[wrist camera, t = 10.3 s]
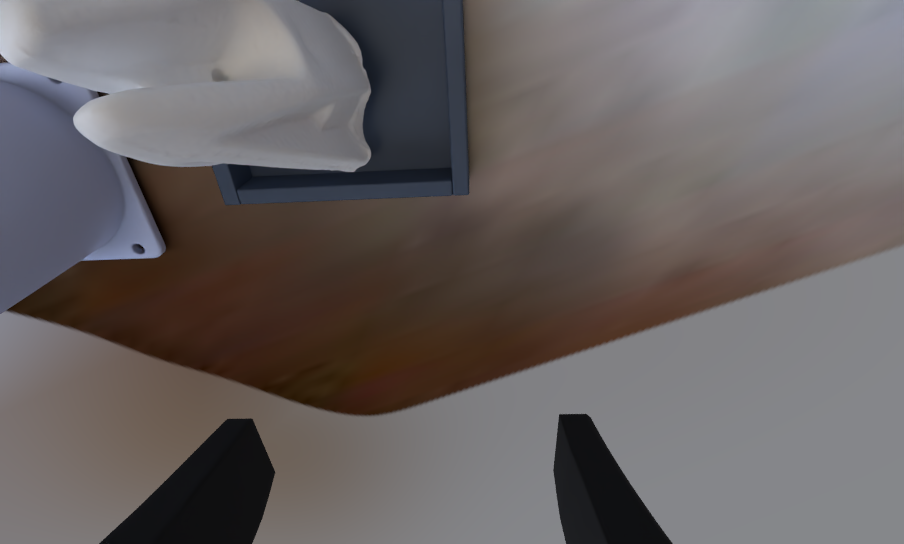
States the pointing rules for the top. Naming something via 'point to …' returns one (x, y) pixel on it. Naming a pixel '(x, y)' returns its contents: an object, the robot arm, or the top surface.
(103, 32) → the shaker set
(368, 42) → the tray
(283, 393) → the top surface
